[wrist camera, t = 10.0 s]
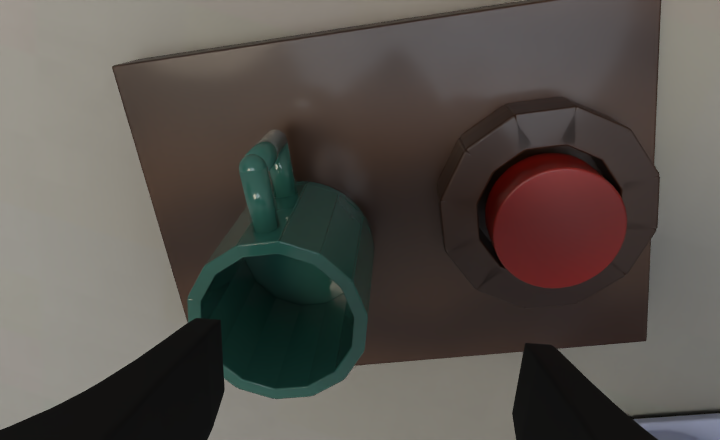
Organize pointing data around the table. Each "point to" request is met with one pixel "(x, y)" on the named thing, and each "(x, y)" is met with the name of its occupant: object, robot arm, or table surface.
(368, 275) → the coffee mug
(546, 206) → the button
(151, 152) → the stand
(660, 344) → the table surface
